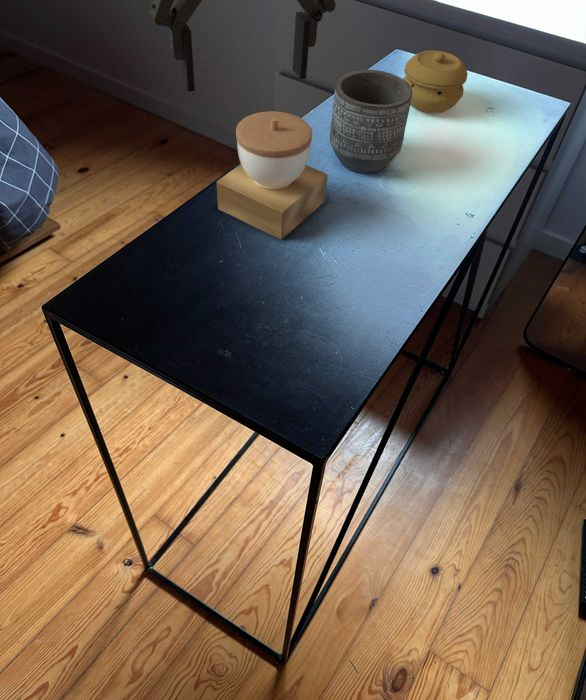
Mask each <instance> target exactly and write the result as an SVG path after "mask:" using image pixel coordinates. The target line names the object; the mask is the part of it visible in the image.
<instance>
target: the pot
mask: <svg viewBox="0 0 586 700" xmlns="http://www.w3.org/2000/svg"><path fill="white" fill-rule="evenodd" d="M465 65H466V64H464V63H463V61H462V60H461V59H460V58H459V57H457V56H456V55H454V54H453V53H450V52H446V51H442V50H423V51H421V52H418V53H416V54H415V55H413V56H412V57H411V58H410V59H408V60H407V62H406V63H405V66H404V69H403V70H404V75H405V76H404V77H403V78H402V79H404V80H405V81H406V82H407V83H408V84H409V85H410V86H411V88H412V98H411V104H410V107H412V108H414V109H415V110H418V111H421V112H424V113H429V114H430V113H431V114H439V113H443V112H446V111H449V110H450V109H452V108H453V107H455V106H456V104H457V103H458V102H459V101H460V100H461V98H463V96H464V93H465V89H464V88H465V87H464V84H465V83H466V82H467V79H468V74H469V73H468V70H467V67H466V66H465Z"/></svg>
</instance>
